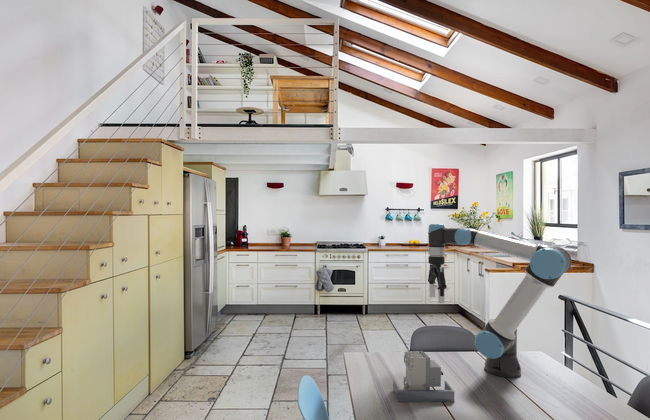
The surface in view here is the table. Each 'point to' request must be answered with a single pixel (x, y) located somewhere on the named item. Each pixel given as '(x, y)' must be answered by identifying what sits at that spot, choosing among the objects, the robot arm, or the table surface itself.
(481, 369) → the table surface
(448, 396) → the grey u-shaped bracket
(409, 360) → the circuit breaker
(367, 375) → the table surface
